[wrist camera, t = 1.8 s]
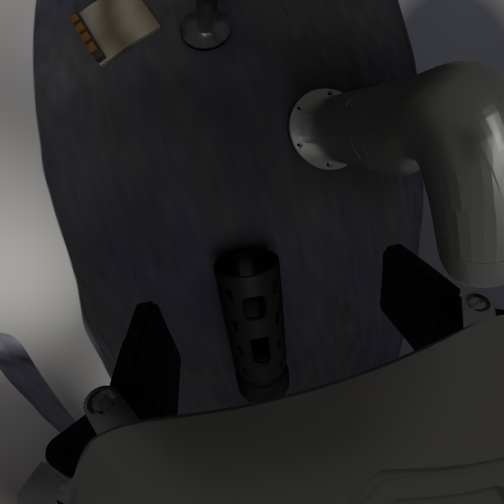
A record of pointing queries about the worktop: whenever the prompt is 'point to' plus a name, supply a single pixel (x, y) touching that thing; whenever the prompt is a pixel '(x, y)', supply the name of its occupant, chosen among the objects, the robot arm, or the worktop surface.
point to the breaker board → (114, 27)
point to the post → (205, 26)
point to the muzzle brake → (254, 321)
